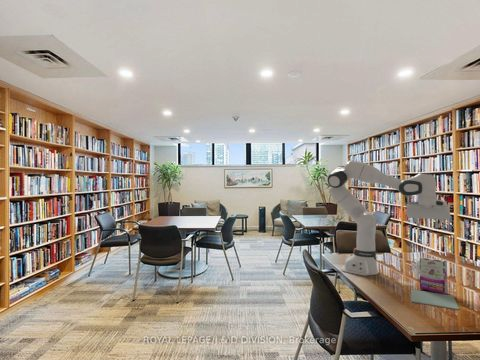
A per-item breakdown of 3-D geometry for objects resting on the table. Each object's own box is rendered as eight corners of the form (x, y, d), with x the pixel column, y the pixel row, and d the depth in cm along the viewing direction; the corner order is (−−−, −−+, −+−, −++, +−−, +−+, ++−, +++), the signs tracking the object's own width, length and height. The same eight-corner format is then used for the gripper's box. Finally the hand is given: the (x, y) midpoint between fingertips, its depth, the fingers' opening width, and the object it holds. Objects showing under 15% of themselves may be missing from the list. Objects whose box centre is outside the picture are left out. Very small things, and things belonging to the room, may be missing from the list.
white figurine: (410, 278, 164) (410, 258, 165) (411, 277, 168) (410, 257, 168) (429, 281, 159) (428, 260, 160) (429, 279, 163) (428, 259, 163)
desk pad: (411, 301, 132) (411, 300, 132) (410, 290, 147) (410, 289, 147) (459, 310, 123) (459, 308, 123) (453, 296, 137) (453, 295, 137)
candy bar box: (447, 293, 142) (447, 260, 144) (444, 294, 139) (444, 261, 140) (422, 287, 150) (422, 256, 152) (419, 288, 147) (419, 257, 149)
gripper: (404, 202, 159) (405, 226, 158) (449, 202, 146) (450, 228, 145) (406, 201, 164) (407, 224, 163) (450, 201, 150) (451, 227, 150)
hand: (428, 226), depth 154 cm, fingers open, 8 cm apart
